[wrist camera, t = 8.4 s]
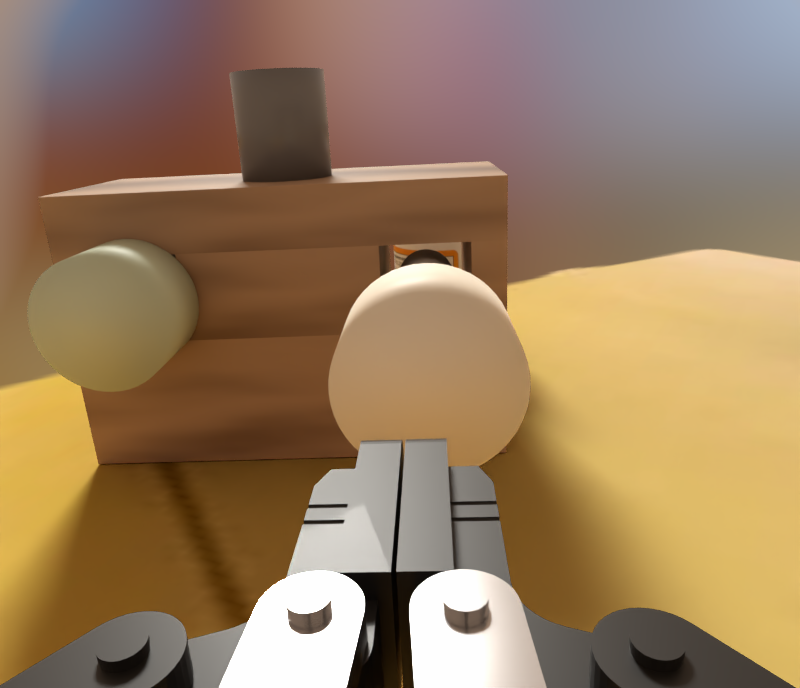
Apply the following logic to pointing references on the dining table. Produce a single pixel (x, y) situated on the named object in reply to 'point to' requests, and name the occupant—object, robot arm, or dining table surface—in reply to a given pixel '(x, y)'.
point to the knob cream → (430, 363)
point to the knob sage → (113, 314)
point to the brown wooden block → (268, 294)
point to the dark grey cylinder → (281, 124)
